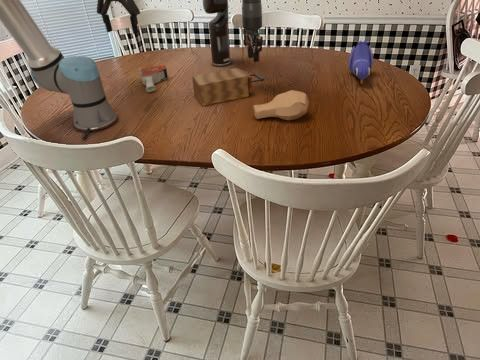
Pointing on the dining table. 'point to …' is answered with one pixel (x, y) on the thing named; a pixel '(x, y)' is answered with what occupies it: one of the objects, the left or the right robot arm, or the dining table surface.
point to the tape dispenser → (152, 76)
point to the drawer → (252, 80)
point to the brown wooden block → (220, 86)
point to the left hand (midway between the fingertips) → (122, 32)
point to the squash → (284, 106)
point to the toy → (361, 60)
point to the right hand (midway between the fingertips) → (253, 59)
